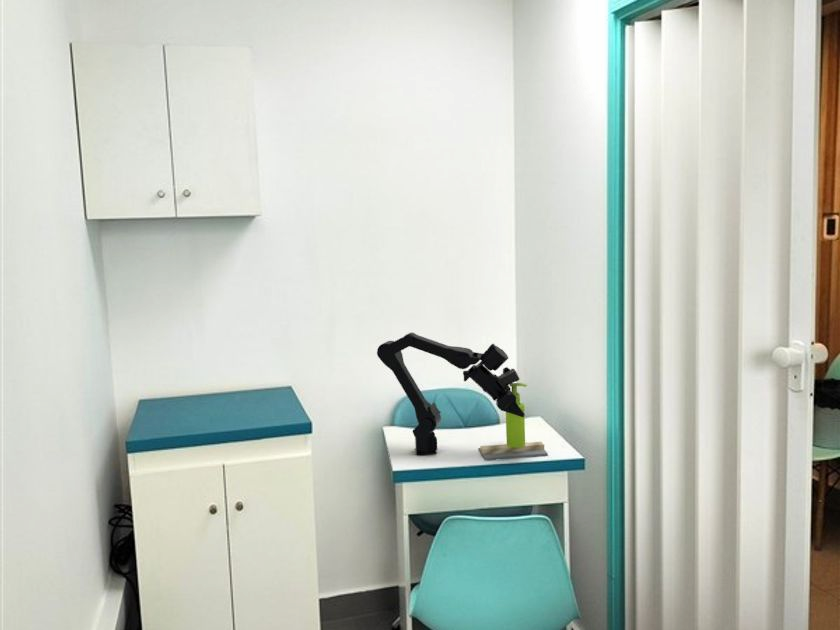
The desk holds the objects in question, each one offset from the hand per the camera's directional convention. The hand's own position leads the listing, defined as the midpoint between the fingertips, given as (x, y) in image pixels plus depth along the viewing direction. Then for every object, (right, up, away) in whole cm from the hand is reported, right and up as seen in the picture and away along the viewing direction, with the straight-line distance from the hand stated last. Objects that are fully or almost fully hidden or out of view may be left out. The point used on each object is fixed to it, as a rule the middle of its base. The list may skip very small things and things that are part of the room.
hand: (521, 412), depth 240 cm
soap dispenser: (-1, -11, +1) cm, 11 cm away
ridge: (-3, -13, +1) cm, 13 cm away
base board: (-3, -13, +1) cm, 13 cm away
